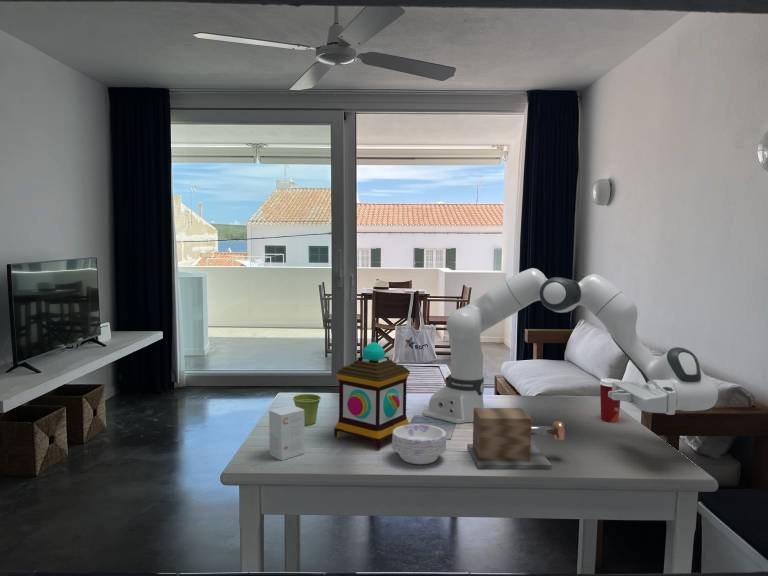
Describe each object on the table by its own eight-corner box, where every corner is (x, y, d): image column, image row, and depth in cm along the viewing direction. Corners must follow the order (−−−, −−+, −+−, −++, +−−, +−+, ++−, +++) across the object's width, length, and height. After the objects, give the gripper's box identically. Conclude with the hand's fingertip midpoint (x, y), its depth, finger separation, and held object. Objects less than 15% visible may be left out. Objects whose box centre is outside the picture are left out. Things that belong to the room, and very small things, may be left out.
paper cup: (623, 424, 191) (625, 383, 190) (599, 422, 192) (601, 382, 191) (618, 417, 198) (620, 378, 197) (596, 415, 200) (597, 377, 199)
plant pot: (317, 417, 194) (317, 392, 193) (323, 425, 185) (323, 400, 184) (290, 419, 191) (290, 394, 190) (295, 428, 182) (295, 402, 181)
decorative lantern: (366, 422, 189) (367, 335, 186) (416, 434, 177) (418, 341, 175) (327, 439, 172) (328, 343, 170) (379, 453, 161) (380, 350, 159)
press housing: (533, 447, 167) (535, 405, 166) (551, 469, 151) (553, 422, 150) (467, 447, 166) (468, 404, 165) (478, 469, 150) (479, 421, 149)
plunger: (558, 435, 162) (558, 418, 161) (565, 442, 156) (566, 425, 155) (499, 435, 161) (499, 418, 161) (504, 442, 155) (505, 425, 155)
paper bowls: (427, 445, 168) (428, 419, 167) (456, 463, 154) (457, 435, 154) (382, 453, 161) (382, 426, 160) (408, 473, 147) (409, 443, 147)
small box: (292, 447, 164) (292, 404, 164) (305, 453, 160) (305, 409, 159) (268, 454, 159) (268, 409, 158) (280, 461, 154) (280, 415, 153)
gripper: (640, 376, 169) (595, 376, 168) (678, 393, 148) (627, 393, 148) (640, 396, 169) (594, 397, 169) (677, 416, 149) (626, 417, 148)
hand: (610, 395), depth 158 cm, fingers closed
